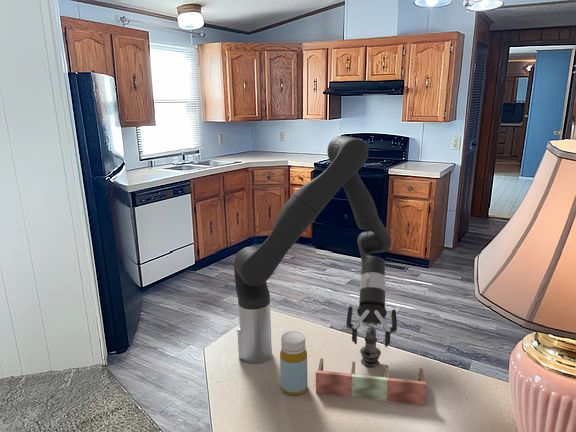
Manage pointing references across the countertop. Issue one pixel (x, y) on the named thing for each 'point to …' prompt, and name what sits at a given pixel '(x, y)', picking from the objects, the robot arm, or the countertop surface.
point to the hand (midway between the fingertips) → (370, 345)
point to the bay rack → (371, 386)
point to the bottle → (293, 363)
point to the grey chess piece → (370, 349)
